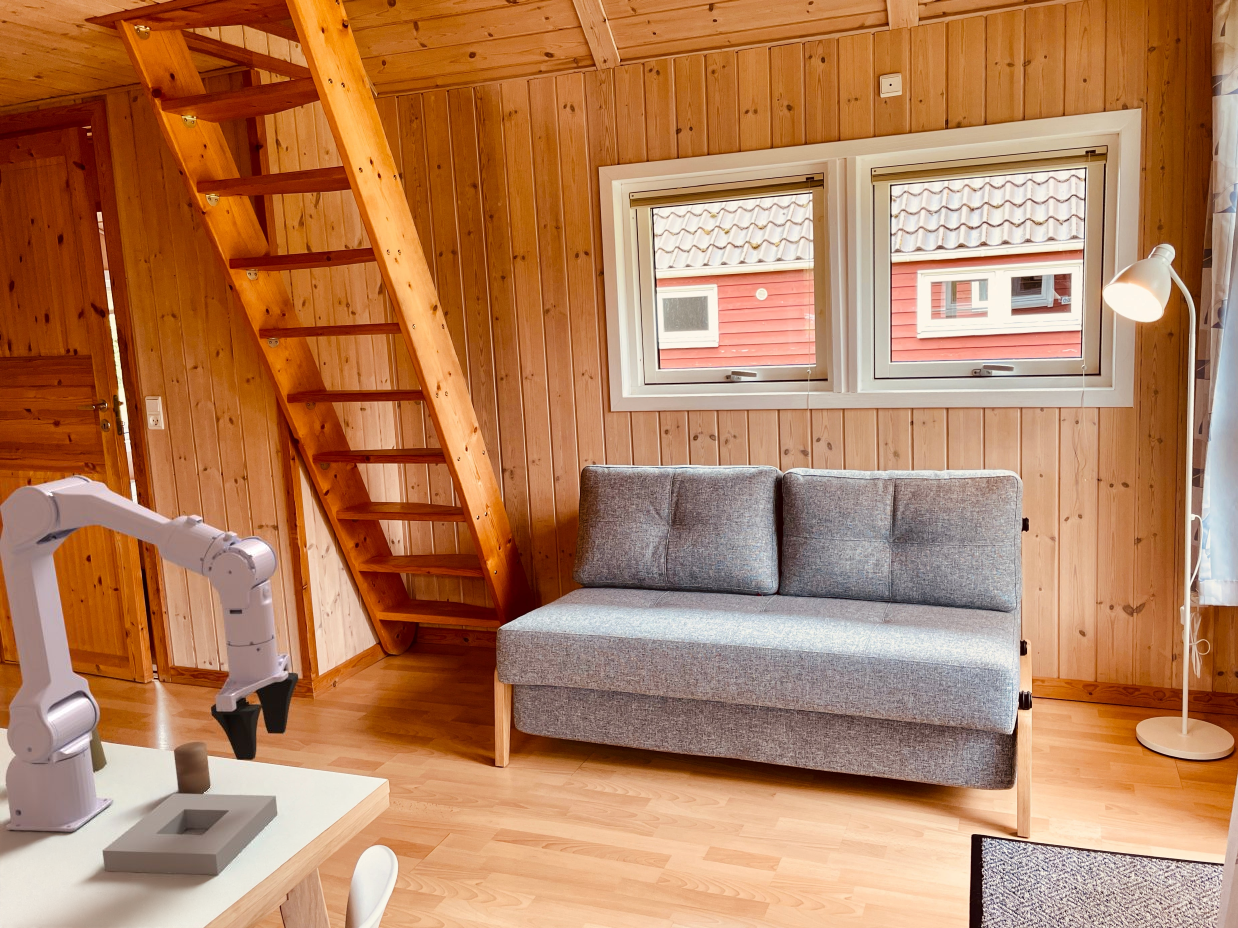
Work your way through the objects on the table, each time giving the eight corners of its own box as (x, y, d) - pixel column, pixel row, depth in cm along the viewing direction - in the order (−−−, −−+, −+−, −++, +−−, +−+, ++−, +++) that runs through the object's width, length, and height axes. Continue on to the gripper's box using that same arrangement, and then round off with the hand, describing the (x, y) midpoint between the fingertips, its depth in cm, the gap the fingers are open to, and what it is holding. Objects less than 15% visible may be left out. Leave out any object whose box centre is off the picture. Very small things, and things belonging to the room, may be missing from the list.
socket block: (104, 870, 113) (102, 850, 113) (175, 811, 127) (173, 793, 127) (217, 874, 111) (215, 854, 111) (277, 814, 125) (275, 795, 125)
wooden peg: (172, 797, 131) (167, 754, 131) (189, 783, 135) (184, 741, 135) (200, 797, 131) (195, 754, 130) (216, 783, 135) (212, 742, 134)
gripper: (251, 658, 112) (262, 771, 114) (308, 621, 126) (318, 722, 128) (194, 658, 113) (206, 770, 115) (257, 621, 127) (267, 721, 129)
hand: (261, 745), depth 122 cm, fingers open, 7 cm apart
